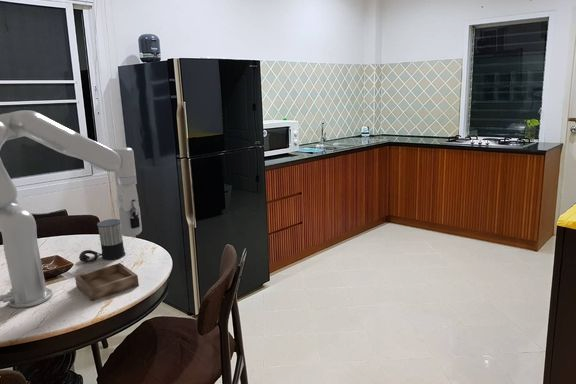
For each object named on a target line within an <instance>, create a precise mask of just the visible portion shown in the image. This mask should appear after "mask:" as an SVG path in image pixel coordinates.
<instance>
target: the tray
mask: <svg viewBox="0 0 576 384" xmlns="http://www.w3.org/2000/svg"><path fill="white" fill-rule="evenodd" d="M74 279H75V285H76V286H75V287H76V288H77V289H78V290H79V291H80V292H81V293H83V295H84V296H86V298H88V299H89V301H91V302H95V301H98V300H100V299H104V298H106V297H109V296H112V295H115V294H118V293H121V292H125V291H127V290H130V289H134V288H136V287H139V286H140V283H139V277H138V274H136V273H135V272H133V271H132V270H131V269H129V268H128V267H126V266H125V265H124V264H122V263H121V262H119V263H114V264H112V265H111V264H110V265H107V266H105V267H104V266H103V267H102V268H98V269H94V270H91V271H87V272H85V273H80V274H78V275H75V276H74Z"/></svg>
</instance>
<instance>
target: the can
mask: <svg viewBox="0 0 576 384" xmlns="http://www.w3.org/2000/svg"><path fill="white" fill-rule="evenodd" d="M120 206H121V205H120ZM122 207H123V206H121V207H120V208H118V214H119V220H120V224H121V233H122V236H125V237H135V236H139V235H140V234H141V232H143V231H142V230H143V228H142V227H143V226H142V219H141V218H142V217H141V209H140V206H139V223H140V227H138V228H133V229H132V228H131V223H130V218H131V216H130V212H129V211H128V212H125V211H124V209H123V208H122ZM131 210H134V208H131ZM132 214H133V212H132Z"/></svg>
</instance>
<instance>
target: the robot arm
mask: <svg viewBox="0 0 576 384" xmlns="http://www.w3.org/2000/svg"><path fill="white" fill-rule="evenodd" d="M22 137H26V138H29V139H31V140H33V141H35V142H37V143H39V144H42V145H43V146H45V147H47V148H50V149H52V150H54V151H56V152H58V153H60V154H63V155H66V156H69V157H72V158H76V159H79V160H82V161H85V162H87V163H88V165H90V166H91V168H93V169H94V170H95V169H96V170H98V171H103V172H107V173H114V182H115V186H116V202H117V208H118V209H119V208H120V207H121V206H123V207H122V208H123V209H124V211H125V212H128V211H129V212H130V216H131V218H130V223H131V228H132V229H133V228H138V227H140V223H139V207H140V203H139V195H138V191H137V184H138V182H137V171H136V164H135V163H136V162H135V154H134V150H133V148H131V147H127V146H126V147H125V146H123V147H117V148H116V147H115V148H112V149H111V148H109V147H108V146H106V145H103V144H101V143H99V142H97V141H95V140H93V139H91V138H89V137H87V136H85V135H83V134H81V133H79V132H77V131H75V130H72V129H70V128H68V127H66V126H65V125H63V124H61V123H60V122H57V121H55V120H54V119H51V118H49V117H48V116H46V115H43V114H42V113H40V112H37V111H35V110H30V109H29V110H26V109H24V110H17V111H11V112H7V113H1V114H0V150H1V149H2V146H3V145H4V144H5V142H6V141H10V140H14V139H18V138H22ZM17 197H18V191H17V187H16V185H15V184H14V182H13V179H11V177H10V175H9V173H8V171H7V169H6V167H5V166H4V163H3V160H2V158H1V157H0V233H1V236H2V245H3V246H2V247H3V252H4V253H3V254H4V256H5V260H6V264H7V269H8V275H9V280H10V285H11V288H10V289H9V291H8V292H7V293H5V294H0V302H2V303H3V304H4V303H7V302H8V304H9V306H10V307H12V308H16V309H17V308H18V309H20V308H21V309H22V308H29V307H33V306H37V305H39V304H42V303H44V302H46V301H47V300H49V299H51V298H52V296H53V290H52V289H51V288H49V287H47V286H46V285H47V284H46V279H45V275H44V270H43V264H42V259H41V254H40V249H39V248H40V247H39V243H38V235H37V234H38V233H37V224H36V223H37V221H36V220H35V217H34V216H33V214H32V213H31V212H30V211H28V210H27V209H26V208H23V207H21V206H20V204H19V202H18V200H17ZM120 205H121V206H120ZM131 208H134V210H131ZM132 212H133V214H132Z"/></svg>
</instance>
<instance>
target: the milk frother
mask: <svg viewBox="0 0 576 384" xmlns="http://www.w3.org/2000/svg"><path fill="white" fill-rule="evenodd" d="M96 225H97V227H98V228H97V229H98V234H99V242H100V247H101V253H100V252H97V251H94V250H91V249H87V250H86V249H85V250H84V251H83V250H82V252H80V253H79V255H78V259H79V261H80V262H83V263H87V264H88V263H93V262H96V261H97V259H99V258H98V257H99V255H100V256H101V259H102V260H104V261H105V260H106V261H113V260H117V259H121V258H123V257H124V256H126V252H125V248H124V240H123V238H124V237H123V234H122V233H121V224H120V219H117V218H115V219H113V218H112V219H111V218H110V219H106V220H101V221H99V222H97V224H96ZM87 254H92V255H93V256H94V257H93V258H91V257H90V256H89V255H87ZM90 258H91V259H90Z"/></svg>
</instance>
